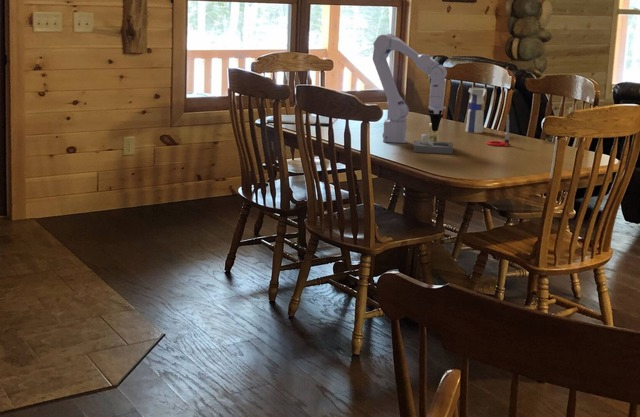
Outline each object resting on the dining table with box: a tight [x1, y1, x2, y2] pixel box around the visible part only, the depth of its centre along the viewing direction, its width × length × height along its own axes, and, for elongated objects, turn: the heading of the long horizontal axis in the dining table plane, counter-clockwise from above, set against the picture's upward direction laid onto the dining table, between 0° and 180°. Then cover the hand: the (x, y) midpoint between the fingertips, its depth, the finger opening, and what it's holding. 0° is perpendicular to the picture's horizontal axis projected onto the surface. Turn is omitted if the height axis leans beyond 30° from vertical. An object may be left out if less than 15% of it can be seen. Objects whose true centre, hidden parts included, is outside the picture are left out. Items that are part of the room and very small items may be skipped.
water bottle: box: [465, 76, 488, 134], centre depth 389 cm, size 8×9×25 cm
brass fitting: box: [427, 122, 441, 142], centre depth 353 cm, size 4×4×9 cm
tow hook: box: [485, 114, 510, 147], centre depth 360 cm, size 8×13×9 cm
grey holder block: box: [413, 134, 454, 155], centre depth 343 cm, size 15×11×6 cm
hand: (434, 129), depth 353 cm, fingers open, 7 cm apart
